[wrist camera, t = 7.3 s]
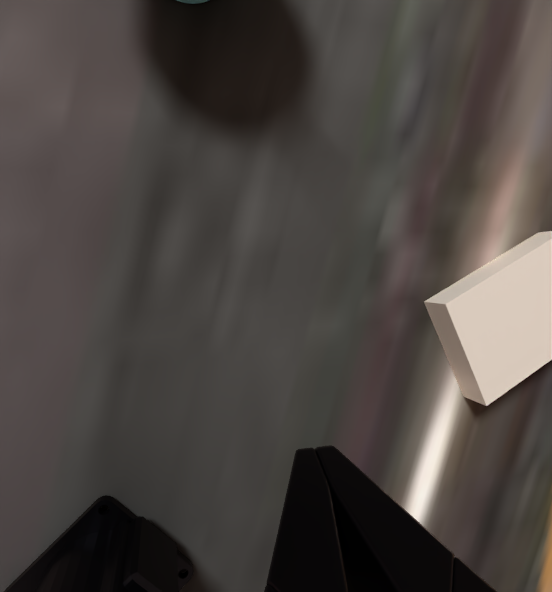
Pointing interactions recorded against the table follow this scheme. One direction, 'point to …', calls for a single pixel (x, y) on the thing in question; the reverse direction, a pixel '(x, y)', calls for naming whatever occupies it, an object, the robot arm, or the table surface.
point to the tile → (498, 320)
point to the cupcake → (192, 1)
